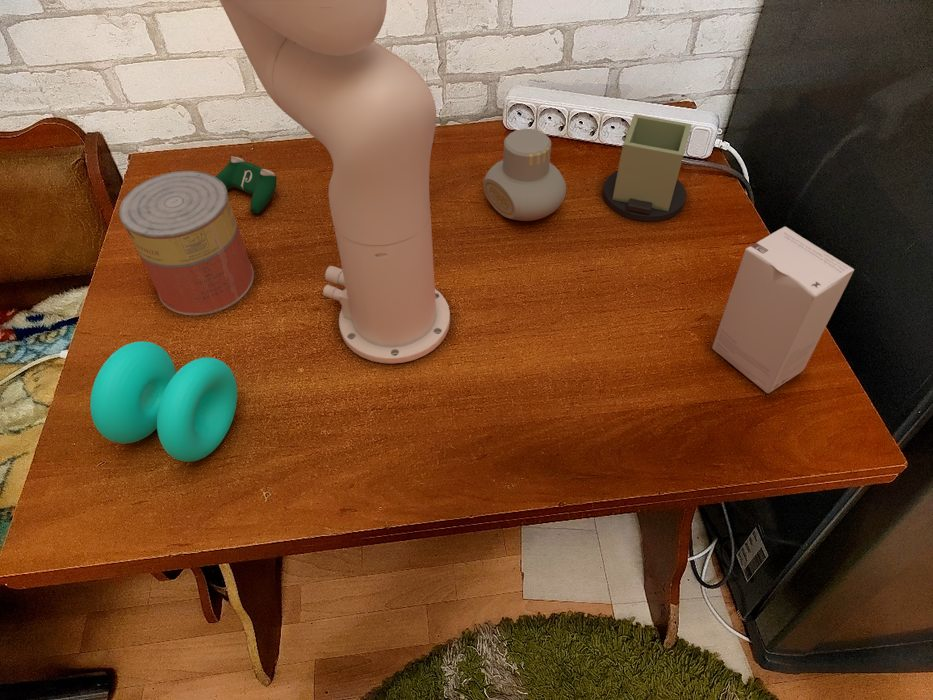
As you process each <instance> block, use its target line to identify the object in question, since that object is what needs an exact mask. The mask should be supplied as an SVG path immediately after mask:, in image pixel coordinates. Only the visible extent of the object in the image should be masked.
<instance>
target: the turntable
mask: <svg viewBox="0 0 933 700" xmlns="http://www.w3.org/2000/svg"><path fill="white" fill-rule="evenodd" d="M617 173H618V170H616V171H614V172H612V173H611V174H610V175H608V176H607V178H606V179H605V181H604V183H603V189H602V196H603V200H604V202H605V203H606V206H608V207H609V208H610V209H611V210H612V211H614V212H615V213H616V214H617V215H620V216H622V217H624V218H626V219H630V220H633V221H637V222H643V223H644V222H646V223H649V222H650V223H654V222H655V223H656V222H662V221H666V220H669V219H671V218H673V217H675V216H677V215H679V213H680V212H681V211H682V210H683V208H684V206H685V203H686V200H687V192H686V187H684V185H683V184H682V182H680V180H679V179H677V181H676V185H675V189H674V192H673V196H672V200H671V203H670V207H669V211H664V210H659V209H654V208H651V211H650V214H645V213H640V212H635V211H630V210H627V206H628V203H625V202H620V201H615V200H612V199H613V194H614V189H615V184H616V178H617Z"/></svg>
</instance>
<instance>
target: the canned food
mask: <svg viewBox="0 0 933 700" xmlns="http://www.w3.org/2000/svg"><path fill="white" fill-rule="evenodd" d="M215 176H216V175H212V174H210V173H207V172H203V171H198V170H197V171H196V170H177V171H171V172H167V173H163V174H159V175H157V176H153V177H151V178H149V179H146V180H144V181H143V182H141V183H139V184H138V185H137V186H135V187H134V188H132V190H131V189H130V191H129V192H128V193H127V194H126V195H125V197H124V198H123V199H122V201H121V202H120V205H119V210H118V211H119V212H118V216H119V219H120V222H121V223H122V225H123V226H124V227H125V229H126V231H127V233H128V236H129V237H130V239H131V241H132V243H133V246H134V247H135V250H136V251H137V254H138V256H139V257H140V260H141V263H142V264H143V266H144V268H145V270H146V272H147V274H148V276H149V278H150V280H151V282H152V285H153V286H154V288H155V290H156V292H157V296H158V298H159V300H160V302H161V303H162V305H163V306H164V307H165V308H167V309H168V310H170V311H172V312H173V313H176V314H180V315H184V316H193V317H195V316H206V315H212V314H215V313H218V312H222V311H224V310H226V309H228V308H230V307H232V306H233V305H235V304H237V303H238V302H239V301H240V300H242V299H243V297H245V296H246V294H248V292H249V290H250V289H251V287H252V286H253V283H254V278H255V272H254V269H253V265H252V264H251V261H250V258H249V255H248V252H247V250H246V246H245V242H244V240H243V237H242V234H241V231H240V229H239V226H238V225H239V224H238V223H237V220H236V219H237V218H236V216H235V213H234V210H233V206H232V203H231V201H230V198H229V192H228V191H227V189H226V187H225V185H224V184H223V182H222V181H221V180H219V179H218V178H216V177H215Z"/></svg>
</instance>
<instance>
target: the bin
mask: <svg viewBox="0 0 933 700" xmlns="http://www.w3.org/2000/svg"><path fill="white" fill-rule="evenodd" d="M691 128H692V123H689V122H687V123H686V122H682V121H677V120H670V119H666V118H665V119H664V118H660V117H654V116H649V115H642V114H636V113H633V116H632V119H631V122H630V124H629V127H628V129H627V132H626V136H625V138H624V141H623V144H622V148H621V152H620V158H619V162H618V163H619V164H618V169H617V171H618V173H617V178H616V184H615V189H614V194H613V199H612V200H615V201H620V202H625V203H628V206H627V210H630V211H635V212H640V213H645V214H650V211H651V208H654V209H659V210H664V211H669V207H670V203H671V200H672V196H673V192H674V189H675V185H676V181H677V180H678V177H679V174H680V171H681V166H682V162H683V159H684V157H685V156H684V155H685V153H686V152H685V151H686V147H687V144H688V140H689V136H690V133H691Z"/></svg>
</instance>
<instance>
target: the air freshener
mask: <svg viewBox="0 0 933 700" xmlns="http://www.w3.org/2000/svg"><path fill="white" fill-rule="evenodd" d="M551 151H552V141H551V138H550V137H549V136H548V135H546V134H545V133H544V132H542V131H540V130H538V129H534V128H520V129H517V130H514V131H512V132H510V133H508V135H506V136H505V138H504V141H503V155H502V156H503V157H502V159H501V160H499V161H497V162H496V163H495V164H494V165H492V166H491V167H490V168H489V170H488V171H487V173H486V174H485V176H484V178H483V183H482V188H483V192H484V194H485V197H486V198H487V200H488V202H489V203H490V205H491V206H492V207H493V208H494V209H495V210H496V211H497V212H498V213H499V214H500V215H501V216H503V217H505V218H507V219H510V220H514V221H519V222H532V221H537V220H540V219H543V218H546V217H548V216H550V215H551V214H553V213H554V212H556V211H557V210H558V209H559V208H560V207H561V205H562V204H563V202H564V200H565V198H566V195H567V183H566V181H565V178H564V177H563V175H562V173H561V172H560V170H559V169H558V168H557V167H556V166H555V165H554V164H553V163H551V154H552V153H551Z"/></svg>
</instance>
